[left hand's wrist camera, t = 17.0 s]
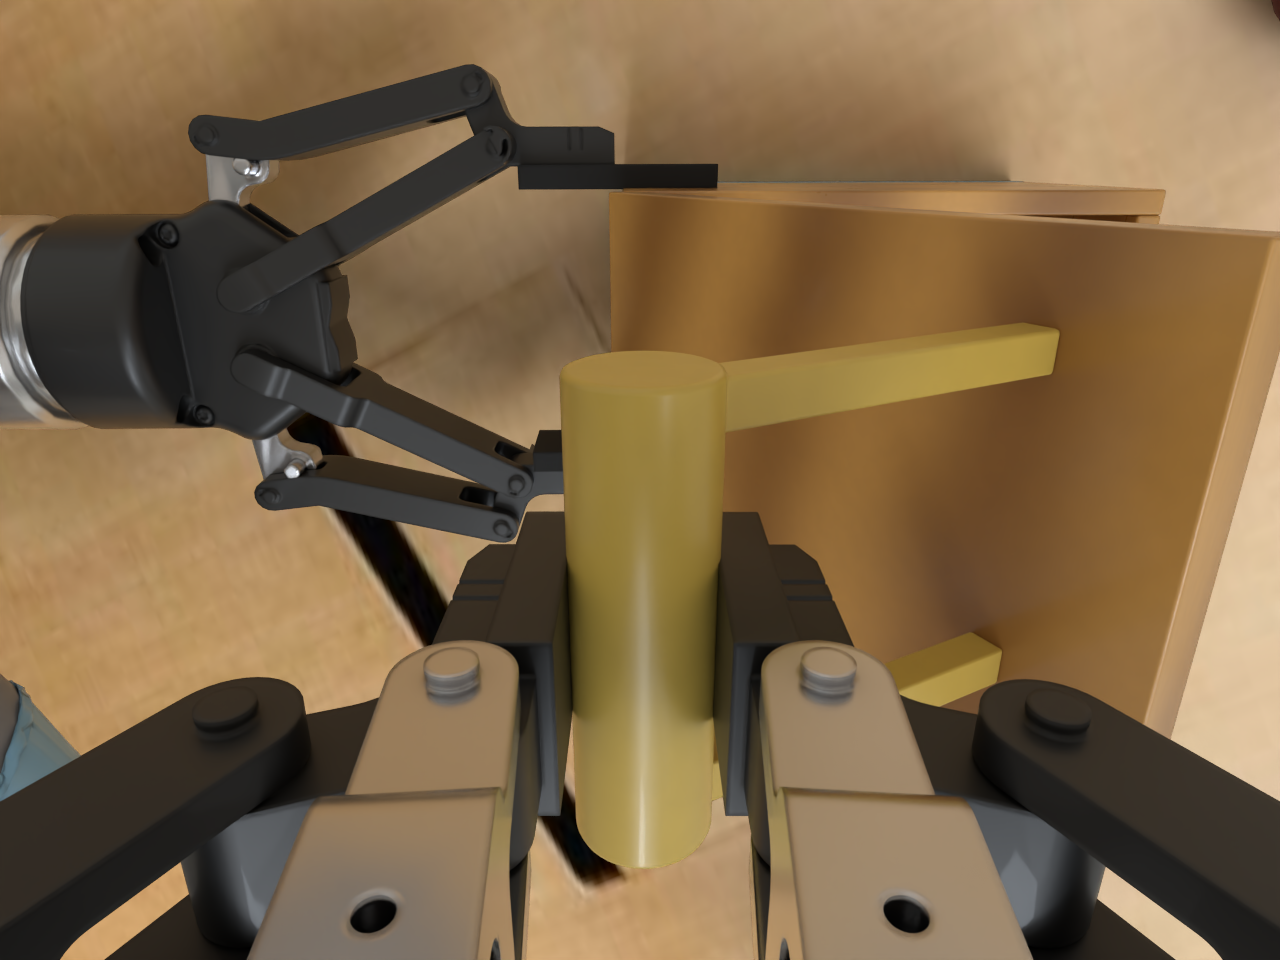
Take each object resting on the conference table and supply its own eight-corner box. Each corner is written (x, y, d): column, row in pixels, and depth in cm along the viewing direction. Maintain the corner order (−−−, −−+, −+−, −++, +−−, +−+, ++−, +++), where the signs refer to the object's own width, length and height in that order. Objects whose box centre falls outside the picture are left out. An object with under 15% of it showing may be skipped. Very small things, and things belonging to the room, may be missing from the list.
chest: (1011, 181, 35) (1167, 189, 25) (979, 392, 38) (1105, 475, 28) (622, 182, 34) (621, 190, 24) (624, 394, 38) (624, 479, 28)
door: (1314, 233, 10) (712, 282, 6) (1149, 823, 13) (689, 1098, 9) (635, 191, 24) (324, 198, 20) (637, 481, 28) (369, 535, 24)
